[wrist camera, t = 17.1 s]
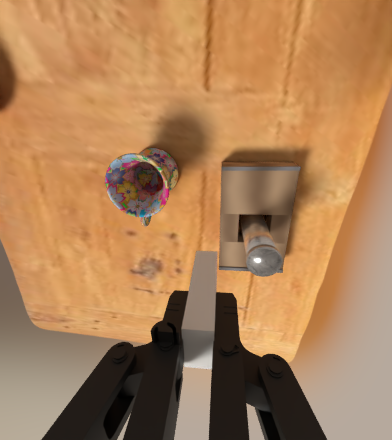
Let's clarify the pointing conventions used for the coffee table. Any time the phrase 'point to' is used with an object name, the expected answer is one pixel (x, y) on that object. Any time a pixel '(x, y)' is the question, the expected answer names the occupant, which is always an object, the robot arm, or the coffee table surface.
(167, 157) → the floral flared cup
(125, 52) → the coffee table surface
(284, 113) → the coffee table surface
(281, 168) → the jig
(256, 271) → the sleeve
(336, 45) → the coffee table surface
